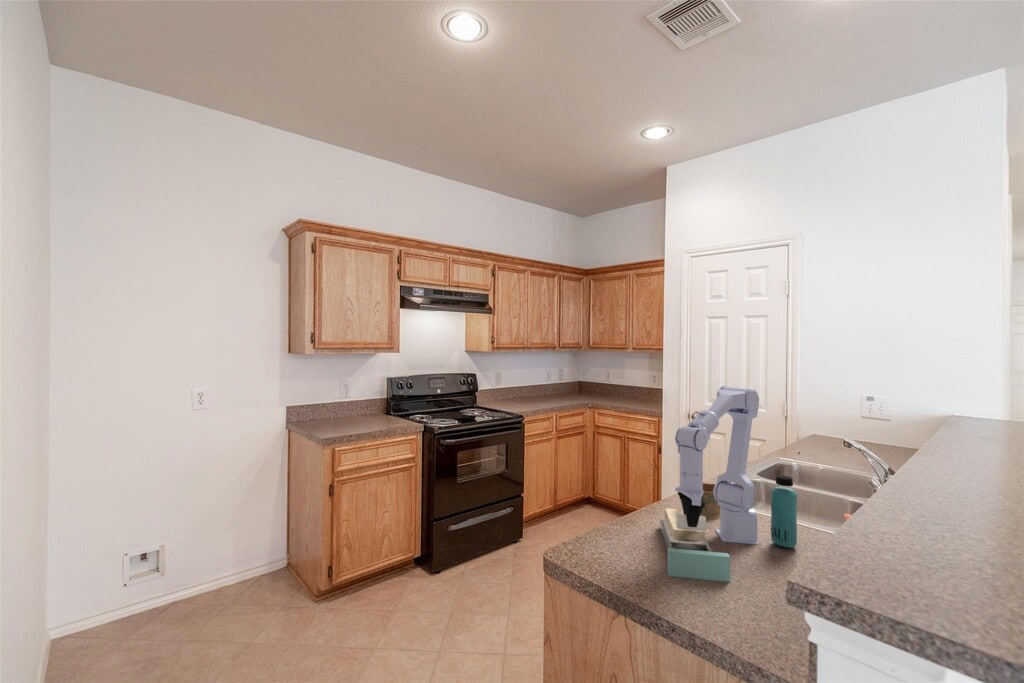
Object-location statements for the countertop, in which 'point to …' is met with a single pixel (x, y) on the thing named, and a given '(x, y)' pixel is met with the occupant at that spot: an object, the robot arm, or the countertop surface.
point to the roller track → (681, 543)
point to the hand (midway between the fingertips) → (690, 523)
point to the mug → (710, 503)
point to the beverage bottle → (784, 513)
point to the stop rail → (699, 564)
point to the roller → (682, 524)
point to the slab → (682, 533)
